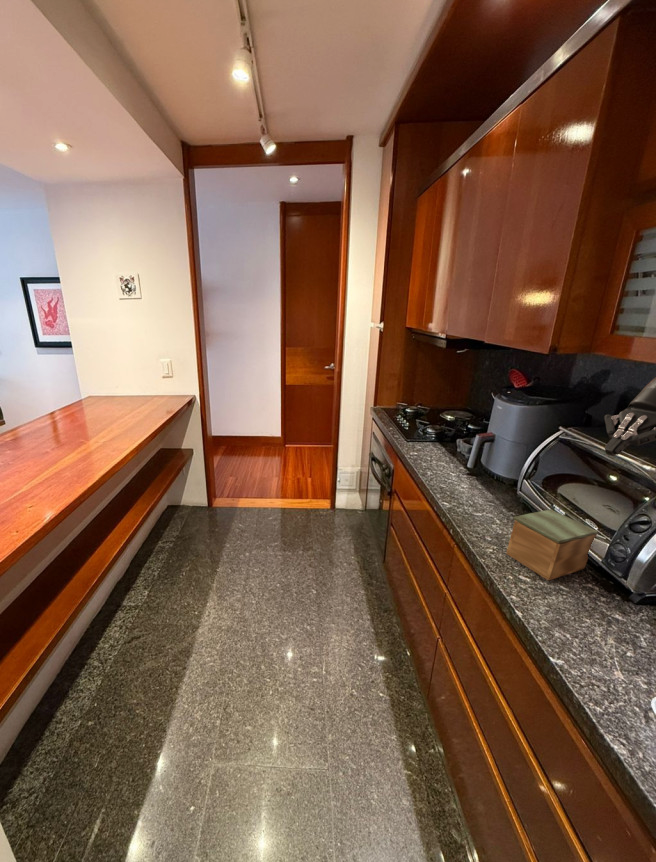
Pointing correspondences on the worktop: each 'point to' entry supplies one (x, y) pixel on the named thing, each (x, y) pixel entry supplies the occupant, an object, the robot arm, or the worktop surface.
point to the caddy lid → (555, 526)
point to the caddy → (548, 552)
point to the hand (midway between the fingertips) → (609, 453)
